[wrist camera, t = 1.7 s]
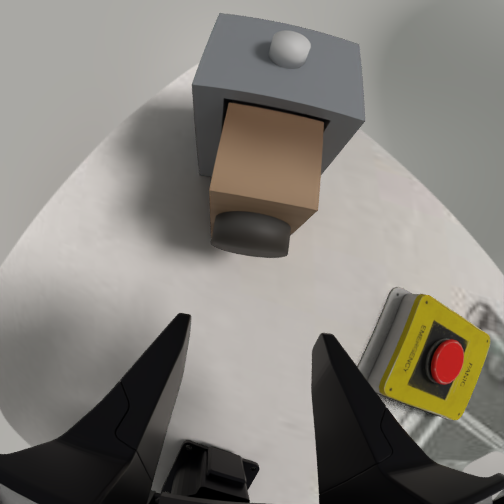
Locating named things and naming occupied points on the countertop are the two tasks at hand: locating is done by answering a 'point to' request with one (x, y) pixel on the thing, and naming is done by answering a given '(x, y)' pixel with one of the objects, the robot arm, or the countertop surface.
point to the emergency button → (424, 355)
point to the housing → (277, 81)
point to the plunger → (264, 180)
